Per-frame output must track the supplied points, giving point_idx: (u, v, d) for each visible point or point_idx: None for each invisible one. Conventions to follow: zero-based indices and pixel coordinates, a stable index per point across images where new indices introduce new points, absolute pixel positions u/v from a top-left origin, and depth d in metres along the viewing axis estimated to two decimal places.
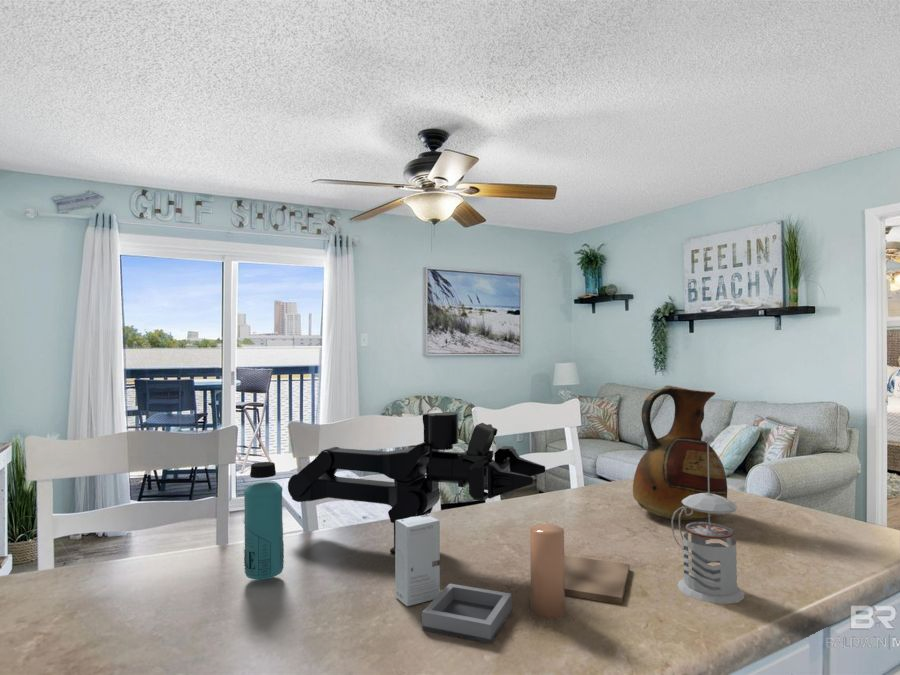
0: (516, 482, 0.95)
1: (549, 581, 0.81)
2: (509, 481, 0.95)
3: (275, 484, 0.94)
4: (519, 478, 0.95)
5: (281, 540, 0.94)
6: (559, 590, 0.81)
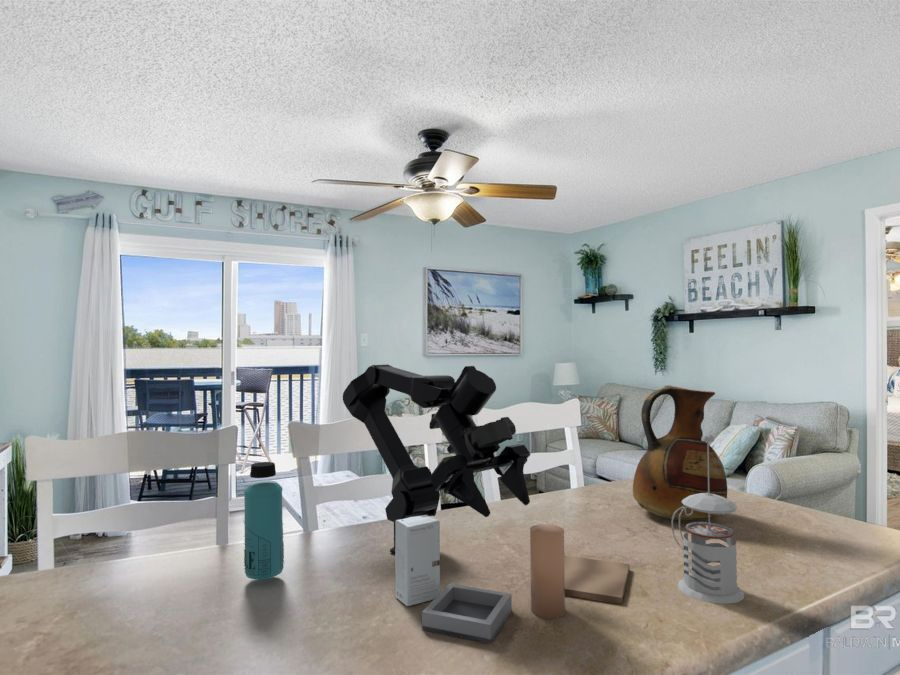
0: (474, 503, 0.87)
1: (549, 581, 0.81)
2: (470, 496, 0.87)
3: (275, 484, 0.94)
4: (478, 502, 0.86)
5: (281, 540, 0.94)
6: (559, 590, 0.81)
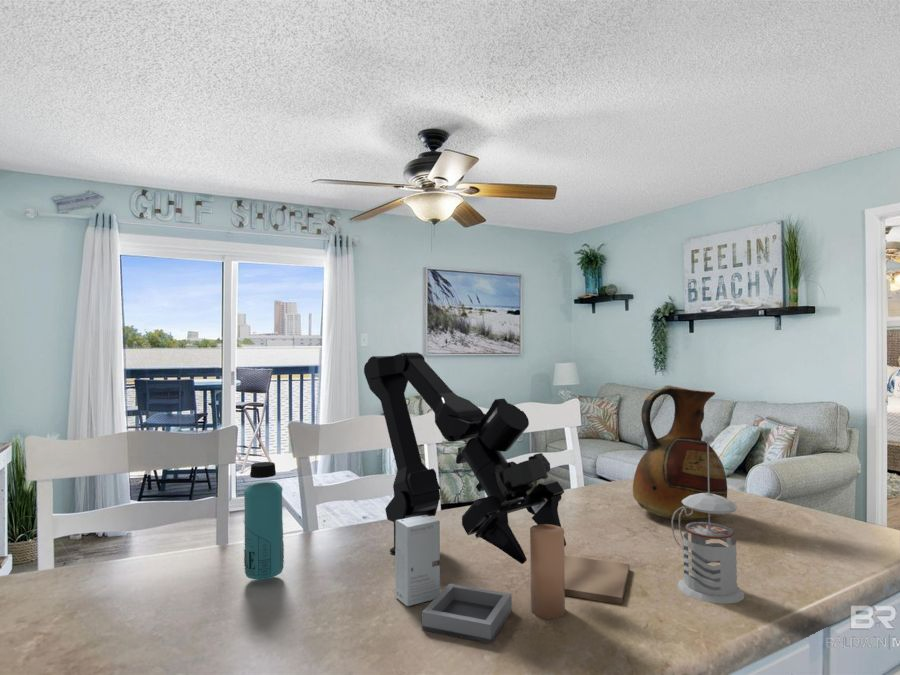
0: (509, 548, 0.81)
1: (549, 581, 0.81)
2: (504, 541, 0.82)
3: (275, 484, 0.94)
4: (513, 548, 0.81)
5: (281, 540, 0.94)
6: (559, 590, 0.81)
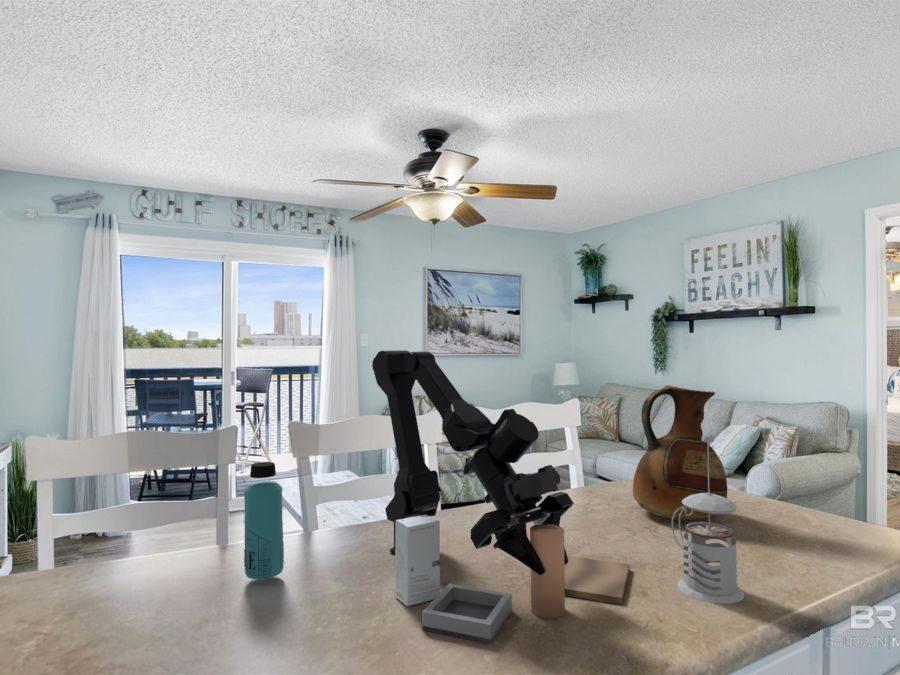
0: (527, 559, 0.81)
1: (549, 581, 0.81)
2: (522, 552, 0.82)
3: (275, 484, 0.94)
4: (532, 560, 0.81)
5: (281, 540, 0.94)
6: (559, 590, 0.81)
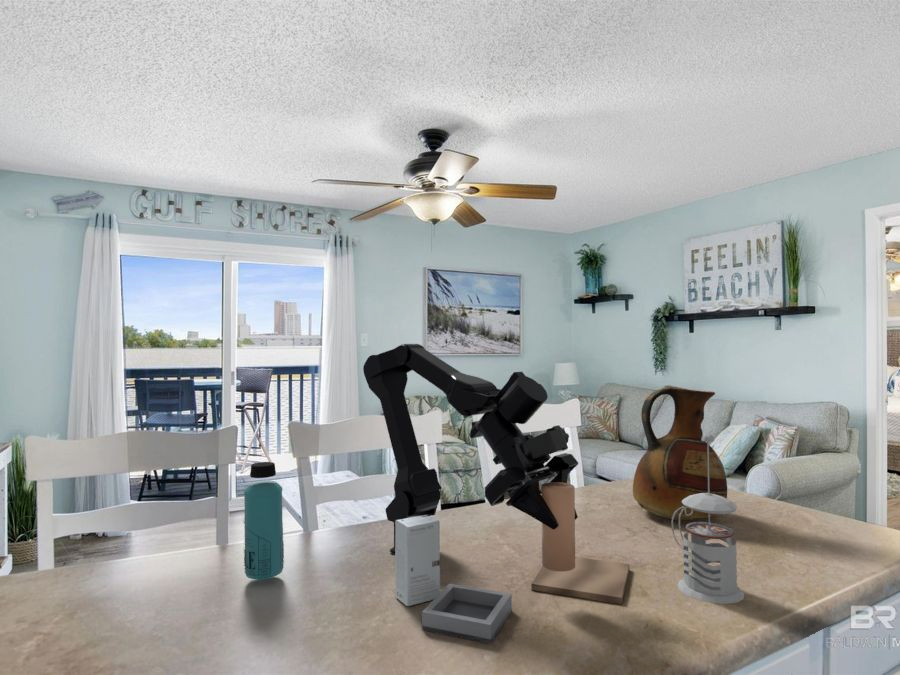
0: (540, 515, 0.83)
1: (562, 535, 0.83)
2: (535, 508, 0.84)
3: (275, 484, 0.94)
4: (545, 515, 0.83)
5: (281, 540, 0.94)
6: (571, 544, 0.83)
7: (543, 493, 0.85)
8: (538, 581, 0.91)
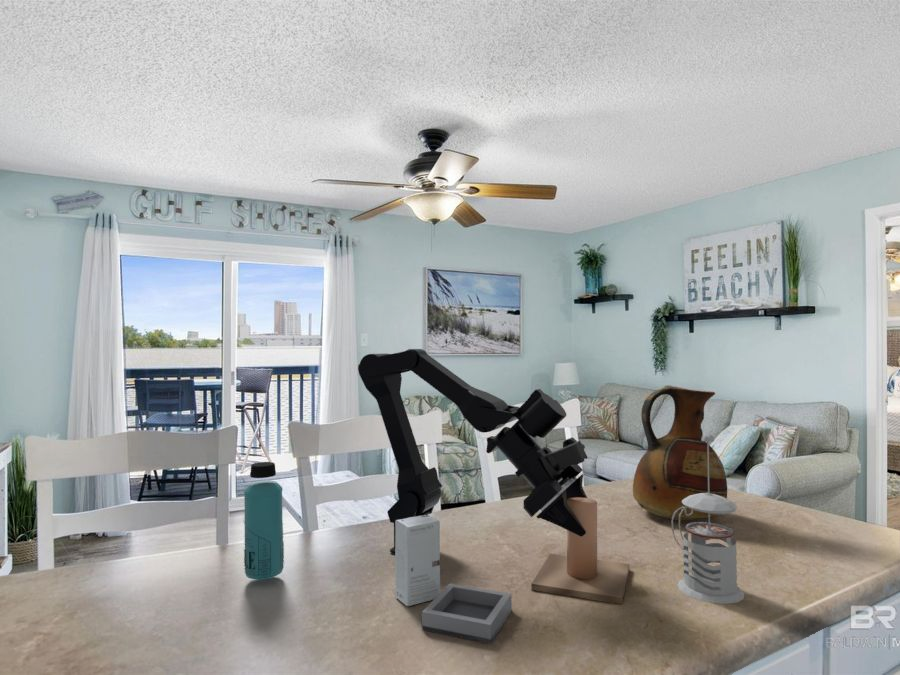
0: (569, 524, 0.89)
1: (590, 545, 0.92)
2: (564, 518, 0.90)
3: (275, 484, 0.94)
4: (574, 523, 0.89)
5: (281, 540, 0.94)
6: (596, 553, 0.93)
7: (571, 508, 0.93)
8: (538, 581, 0.91)
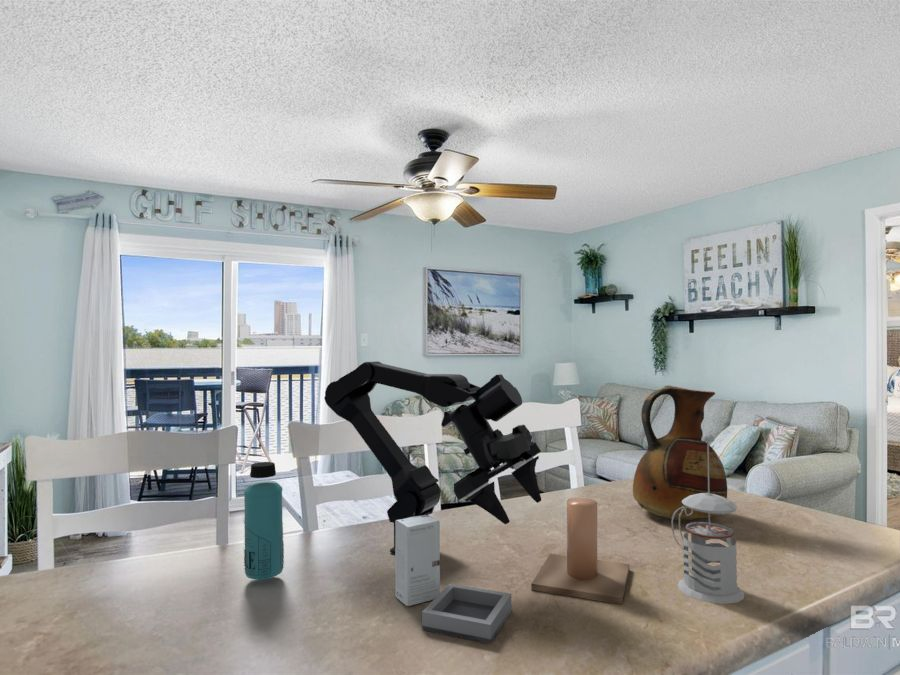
0: (494, 512, 0.94)
1: (590, 546, 0.92)
2: (490, 506, 0.95)
3: (275, 484, 0.94)
4: (499, 512, 0.94)
5: (281, 540, 0.94)
6: (596, 553, 0.92)
7: (572, 510, 0.92)
8: (538, 581, 0.91)
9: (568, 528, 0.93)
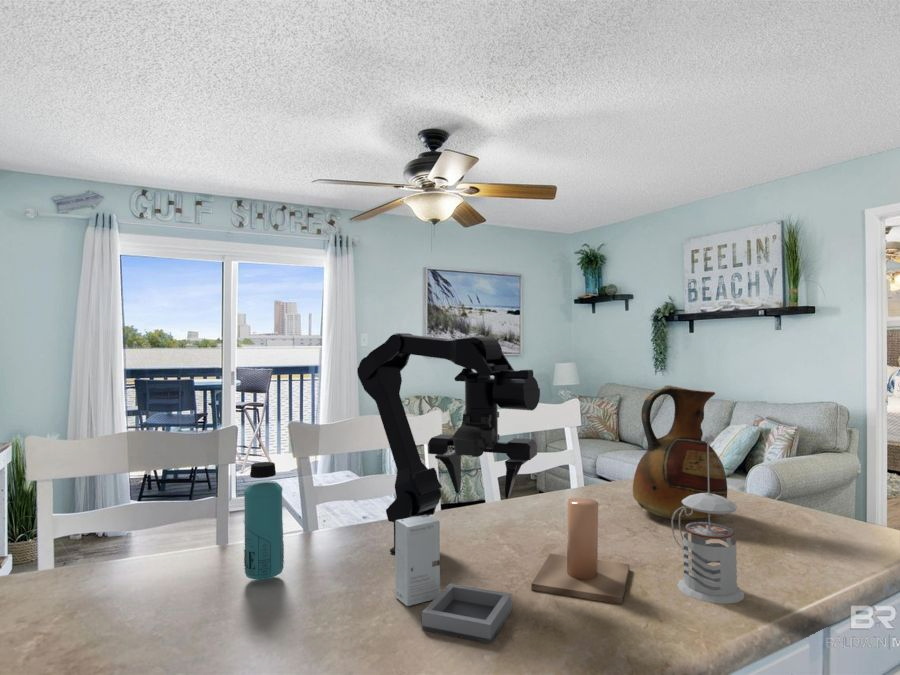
0: None
1: (591, 546, 0.92)
2: None
3: (275, 484, 0.94)
4: None
5: (281, 540, 0.94)
6: (596, 553, 0.93)
7: (573, 509, 0.92)
8: (538, 581, 0.91)
9: (569, 528, 0.93)
